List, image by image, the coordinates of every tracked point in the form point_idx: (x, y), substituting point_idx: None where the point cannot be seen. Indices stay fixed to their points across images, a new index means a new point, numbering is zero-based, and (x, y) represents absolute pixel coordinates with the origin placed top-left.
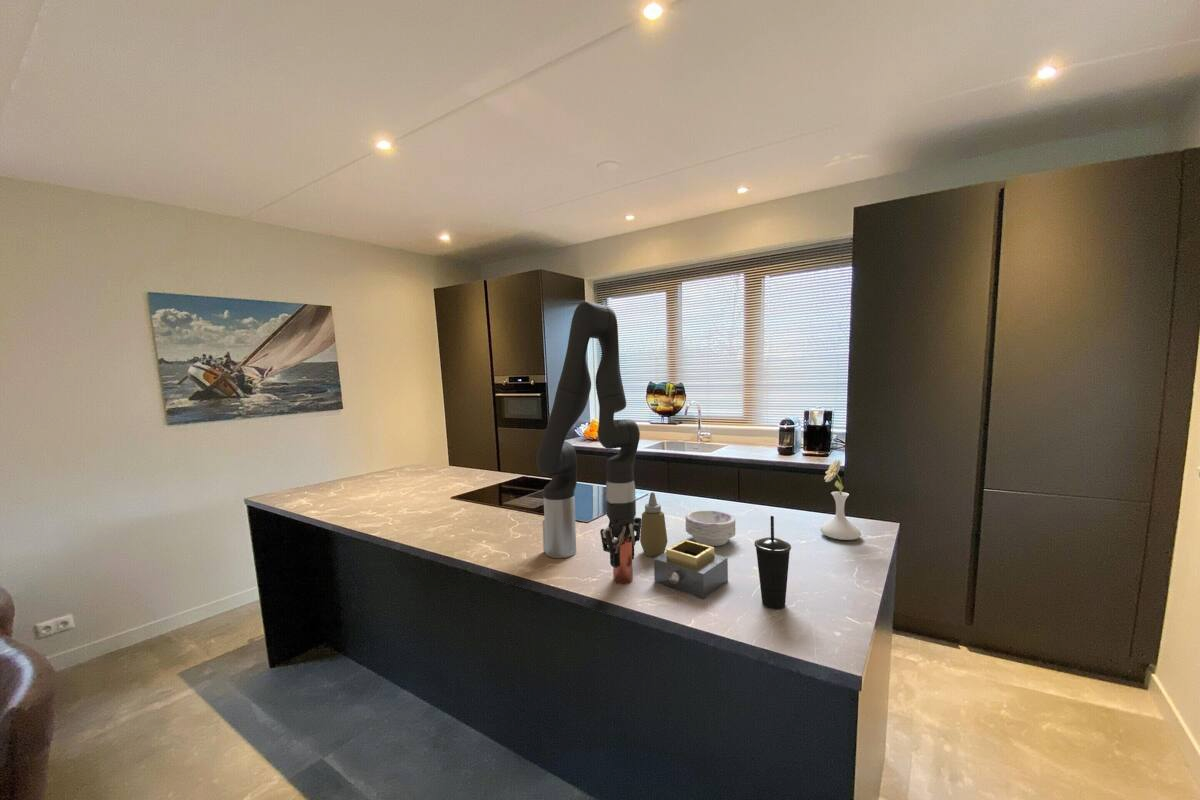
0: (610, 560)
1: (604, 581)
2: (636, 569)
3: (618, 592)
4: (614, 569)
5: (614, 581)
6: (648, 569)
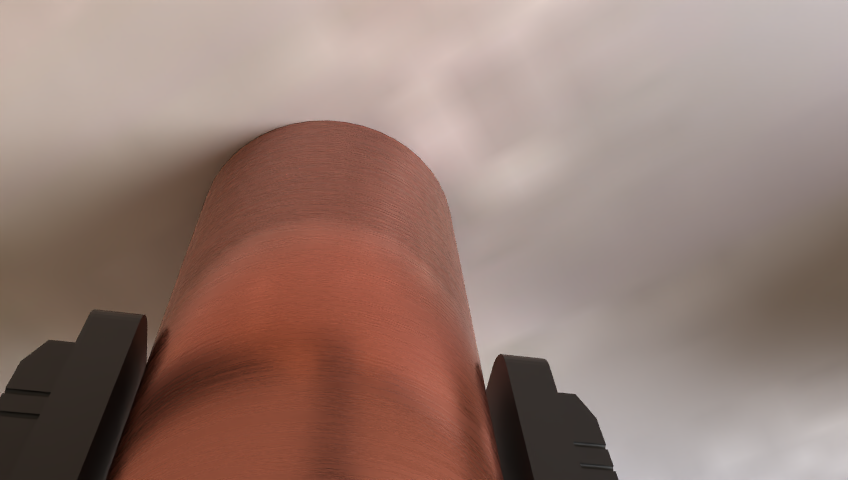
0: (2, 401)
1: (138, 60)
2: (671, 231)
3: (27, 342)
4: (177, 280)
5: (213, 181)
6: (718, 338)
